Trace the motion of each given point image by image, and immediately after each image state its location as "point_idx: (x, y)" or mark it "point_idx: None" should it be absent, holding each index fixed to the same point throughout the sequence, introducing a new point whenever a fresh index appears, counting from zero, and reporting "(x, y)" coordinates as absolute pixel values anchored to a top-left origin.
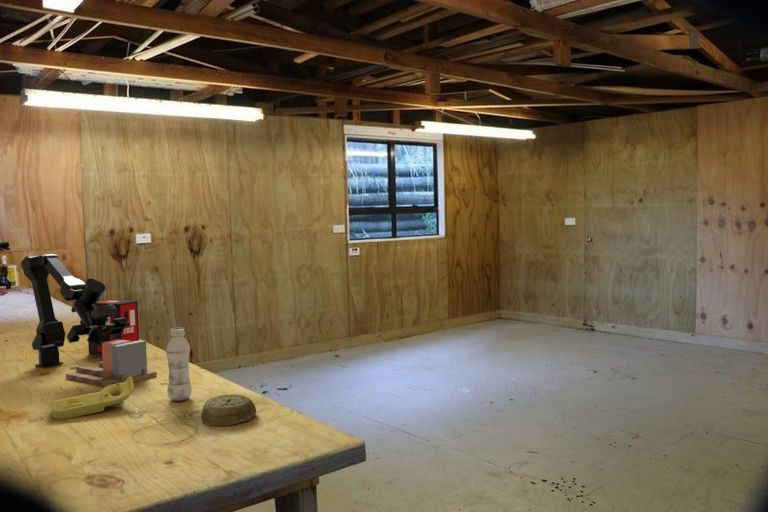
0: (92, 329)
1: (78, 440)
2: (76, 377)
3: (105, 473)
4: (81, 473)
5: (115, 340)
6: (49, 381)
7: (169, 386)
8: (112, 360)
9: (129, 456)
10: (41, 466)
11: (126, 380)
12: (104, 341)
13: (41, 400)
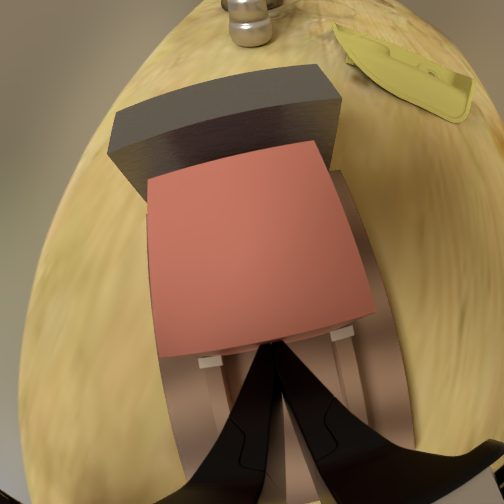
0: (497, 482)
1: (407, 33)
2: (407, 399)
3: (382, 4)
4: (397, 10)
5: (212, 322)
6: (454, 447)
7: (269, 18)
8: (329, 163)
9: (364, 4)
10: (427, 27)
11: (338, 30)
12: (321, 383)
13: (497, 211)
